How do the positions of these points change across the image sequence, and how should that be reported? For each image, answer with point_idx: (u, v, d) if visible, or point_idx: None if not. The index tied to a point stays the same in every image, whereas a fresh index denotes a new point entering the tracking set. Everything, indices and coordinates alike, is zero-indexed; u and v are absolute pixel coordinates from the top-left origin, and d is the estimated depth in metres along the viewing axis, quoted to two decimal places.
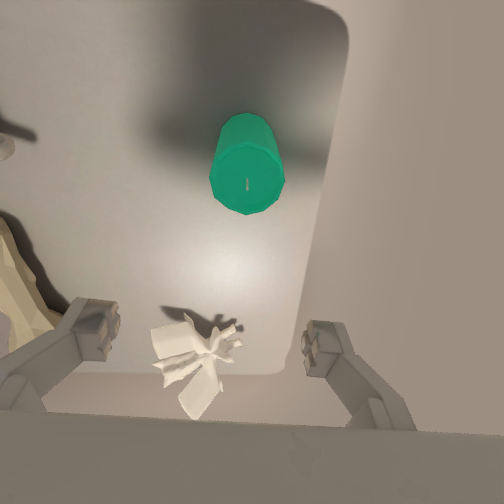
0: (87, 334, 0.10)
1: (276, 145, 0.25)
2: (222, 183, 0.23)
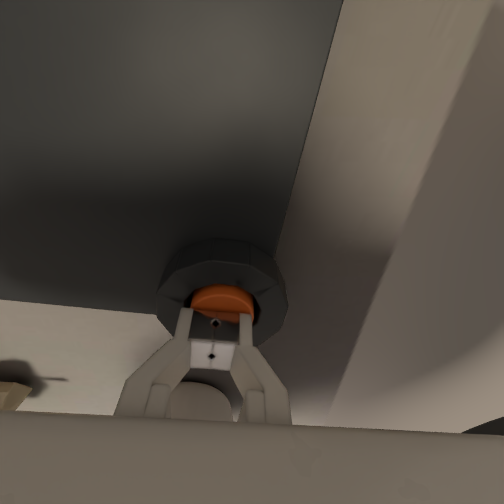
0: (203, 343, 0.10)
1: None
2: None
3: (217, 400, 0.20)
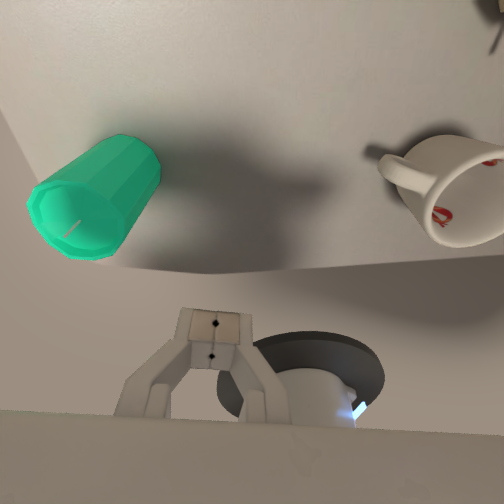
0: (203, 344, 0.10)
1: None
2: (106, 212, 0.19)
3: None
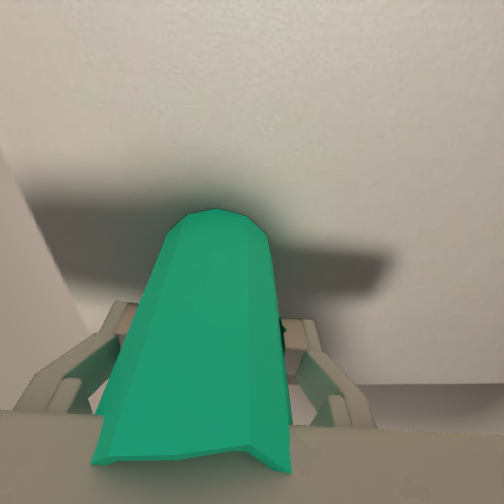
0: None
1: None
2: None
3: None
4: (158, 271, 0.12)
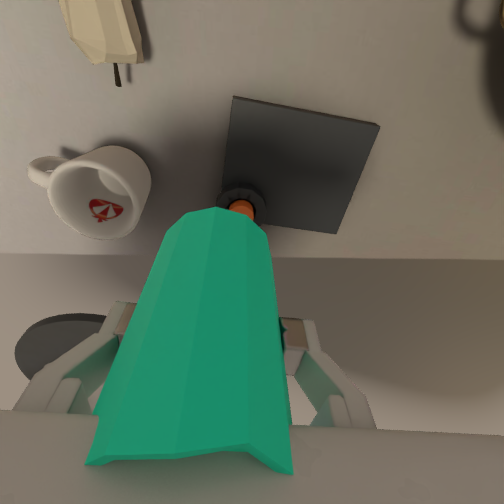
0: None
1: None
2: None
3: None
4: (157, 269, 0.12)
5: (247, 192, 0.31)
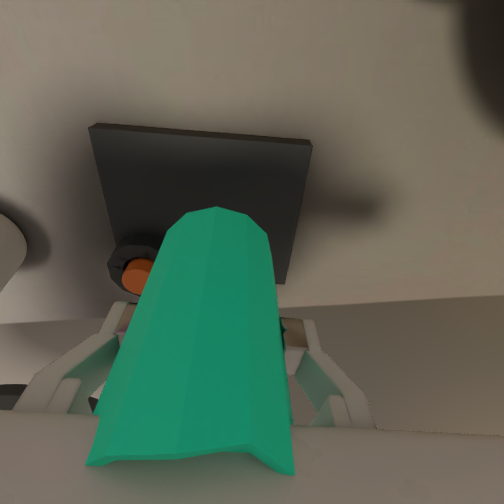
0: None
1: None
2: None
3: (22, 262, 0.25)
4: (157, 269, 0.12)
5: (143, 249, 0.23)
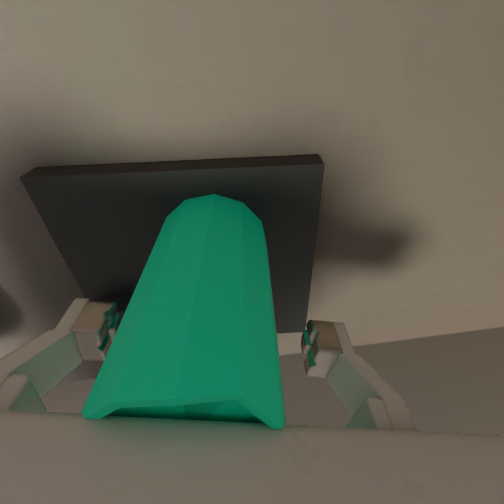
0: (87, 334, 0.10)
1: None
2: None
3: None
4: (157, 250, 0.12)
5: None
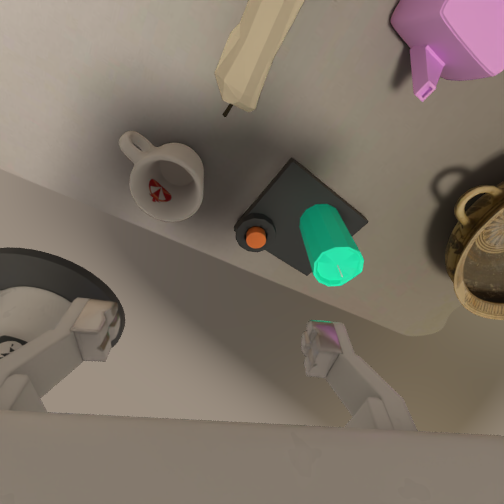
0: (87, 334, 0.10)
1: (307, 241, 0.36)
2: (350, 271, 0.34)
3: None
4: (327, 217, 0.37)
5: (268, 225, 0.40)
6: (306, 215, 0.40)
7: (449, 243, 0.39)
